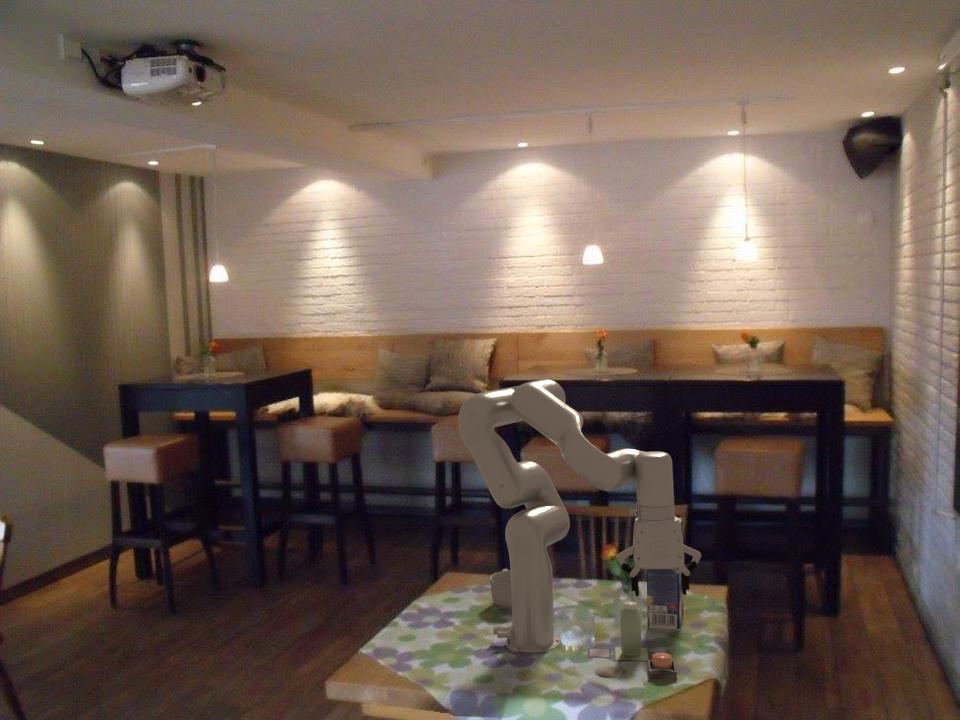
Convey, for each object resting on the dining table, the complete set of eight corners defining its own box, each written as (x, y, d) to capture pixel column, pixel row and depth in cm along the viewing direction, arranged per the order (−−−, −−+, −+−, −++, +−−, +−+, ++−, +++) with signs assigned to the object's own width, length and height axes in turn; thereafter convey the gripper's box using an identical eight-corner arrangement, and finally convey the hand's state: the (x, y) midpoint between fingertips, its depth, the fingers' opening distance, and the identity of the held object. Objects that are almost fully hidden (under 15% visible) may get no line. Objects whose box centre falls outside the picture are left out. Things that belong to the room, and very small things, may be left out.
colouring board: (579, 686, 187) (579, 673, 186) (581, 648, 206) (581, 636, 206) (679, 689, 184) (678, 676, 184) (671, 650, 204) (671, 638, 203)
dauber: (621, 657, 198) (620, 607, 197) (620, 649, 202) (619, 600, 201) (641, 657, 197) (640, 607, 197) (640, 649, 202) (639, 600, 201)
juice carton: (679, 630, 216) (677, 530, 214) (647, 627, 218) (645, 528, 216) (683, 612, 227) (682, 517, 225) (653, 610, 229) (651, 516, 227)
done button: (652, 669, 187) (652, 660, 187) (651, 661, 191) (651, 652, 191) (672, 670, 187) (672, 660, 187) (671, 662, 191) (671, 652, 191)
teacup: (533, 612, 231) (532, 581, 230) (490, 613, 231) (489, 582, 230) (530, 594, 244) (530, 565, 244) (490, 595, 245) (489, 566, 244)
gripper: (614, 517, 185) (618, 600, 186) (701, 514, 183) (705, 598, 184) (613, 509, 193) (617, 589, 194) (696, 506, 191) (700, 587, 192)
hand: (660, 593), depth 189 cm, fingers open, 9 cm apart
